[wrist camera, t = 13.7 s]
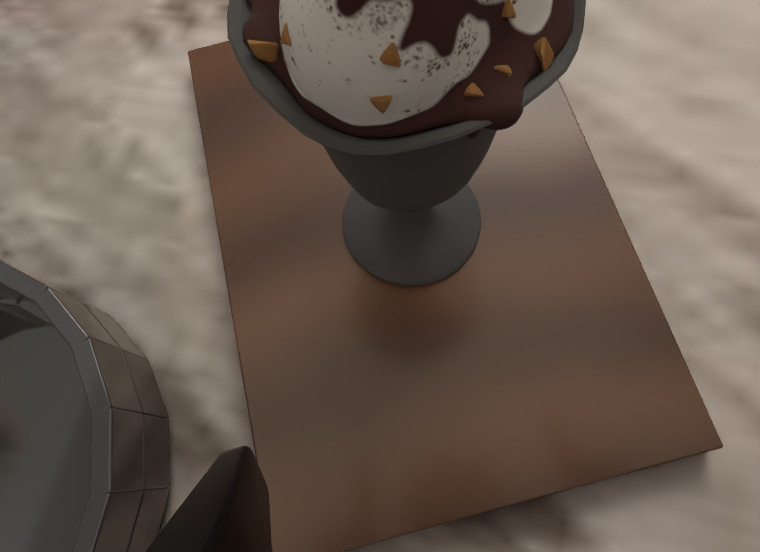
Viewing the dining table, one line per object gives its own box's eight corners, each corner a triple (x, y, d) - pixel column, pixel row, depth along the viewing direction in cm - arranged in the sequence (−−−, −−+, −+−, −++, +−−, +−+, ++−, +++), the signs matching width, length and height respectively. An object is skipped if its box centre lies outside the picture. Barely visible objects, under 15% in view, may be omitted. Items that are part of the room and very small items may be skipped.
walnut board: (708, 448, 17) (724, 447, 17) (282, 564, 17) (274, 570, 16) (505, -13, 24) (508, -32, 23) (196, 67, 24) (187, 50, 23)
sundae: (370, 346, 18) (198, -61, 4) (292, 188, 20) (4, -432, 6) (542, 259, 19) (903, -357, 5) (448, 114, 21) (503, -604, 7)
